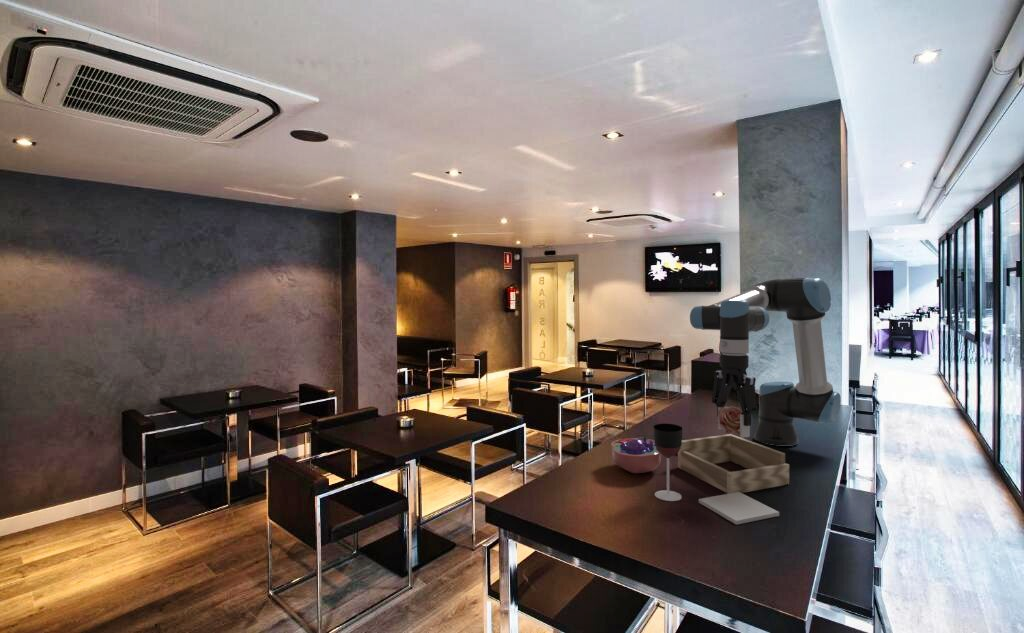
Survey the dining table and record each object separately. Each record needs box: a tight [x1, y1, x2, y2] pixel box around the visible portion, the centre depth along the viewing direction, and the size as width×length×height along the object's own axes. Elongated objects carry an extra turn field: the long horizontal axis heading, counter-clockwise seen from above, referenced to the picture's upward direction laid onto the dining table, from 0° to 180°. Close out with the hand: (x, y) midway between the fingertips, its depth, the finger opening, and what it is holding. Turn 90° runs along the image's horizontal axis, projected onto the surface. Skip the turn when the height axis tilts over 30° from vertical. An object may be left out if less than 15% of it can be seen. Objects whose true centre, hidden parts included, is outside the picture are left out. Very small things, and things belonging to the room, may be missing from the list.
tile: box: [698, 492, 780, 525], centre depth 131 cm, size 14×14×1 cm
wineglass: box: [653, 423, 683, 502], centre depth 141 cm, size 8×9×20 cm
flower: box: [715, 404, 742, 436], centre depth 140 cm, size 9×9×7 cm
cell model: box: [610, 437, 663, 474], centre depth 162 cm, size 17×20×11 cm
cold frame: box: [677, 433, 790, 494], centre depth 155 cm, size 22×24×9 cm
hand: (733, 432), depth 140 cm, fingers closed on flower, 8 cm apart
